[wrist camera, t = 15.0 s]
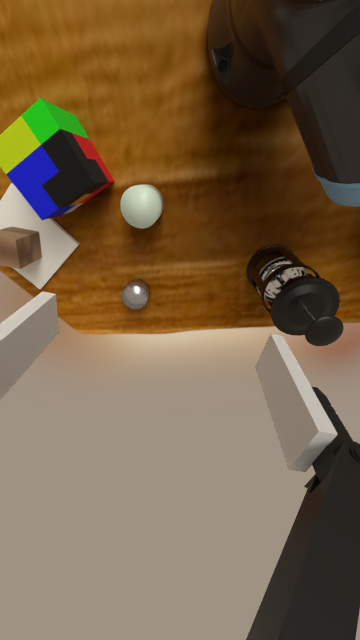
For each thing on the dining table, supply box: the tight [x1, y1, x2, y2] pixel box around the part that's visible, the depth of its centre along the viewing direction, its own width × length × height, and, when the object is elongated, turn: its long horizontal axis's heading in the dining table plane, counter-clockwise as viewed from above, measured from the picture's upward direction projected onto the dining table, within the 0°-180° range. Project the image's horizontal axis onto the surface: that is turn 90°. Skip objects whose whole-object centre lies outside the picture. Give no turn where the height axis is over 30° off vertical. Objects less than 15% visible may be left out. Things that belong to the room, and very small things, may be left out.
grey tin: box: [122, 279, 150, 309], centre depth 50 cm, size 5×5×4 cm
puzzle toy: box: [0, 98, 114, 220], centre depth 37 cm, size 10×10×10 cm
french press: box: [247, 245, 343, 346], centre depth 38 cm, size 12×9×23 cm
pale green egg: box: [120, 184, 164, 228], centre depth 40 cm, size 6×6×7 cm
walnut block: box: [0, 226, 42, 269], centre depth 44 cm, size 5×5×7 cm
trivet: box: [0, 183, 80, 289], centre depth 47 cm, size 14×14×1 cm
